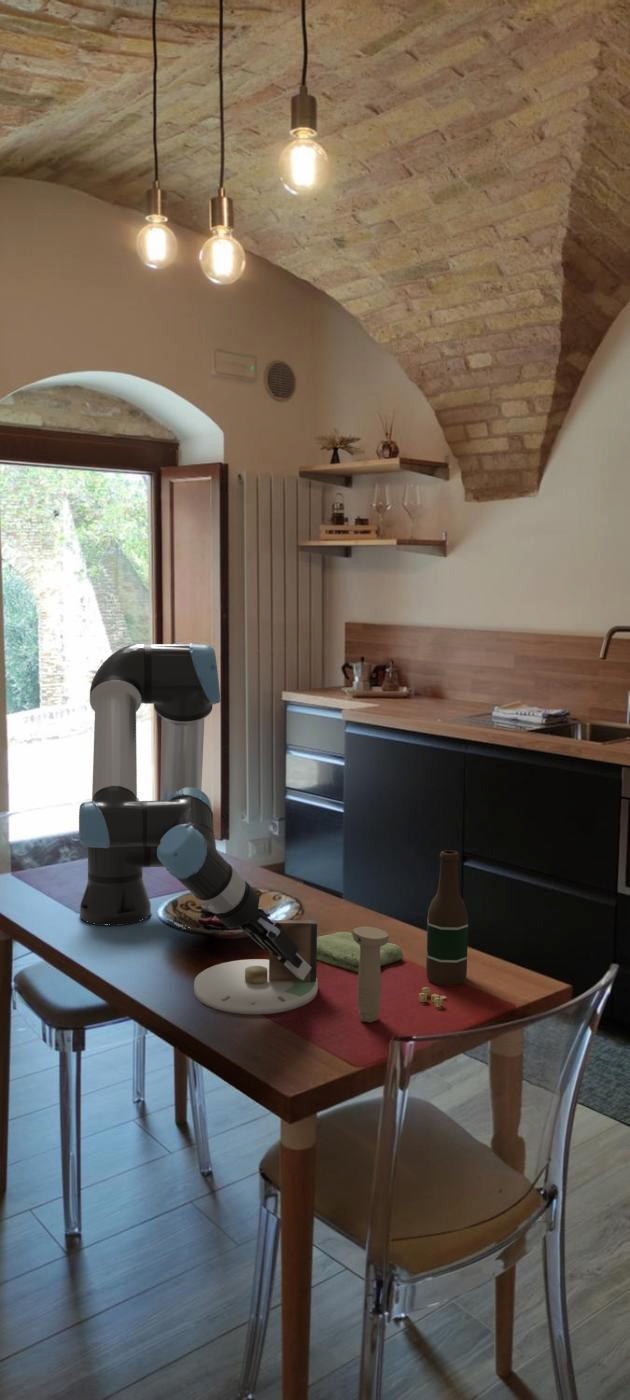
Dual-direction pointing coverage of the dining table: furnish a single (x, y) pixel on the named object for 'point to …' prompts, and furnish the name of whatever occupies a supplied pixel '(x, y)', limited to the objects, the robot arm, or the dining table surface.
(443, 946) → the beer bottle
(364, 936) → the handle
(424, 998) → the dice set
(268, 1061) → the dining table surface
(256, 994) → the dial
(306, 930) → the wooden panel and knob
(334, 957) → the washcloth
